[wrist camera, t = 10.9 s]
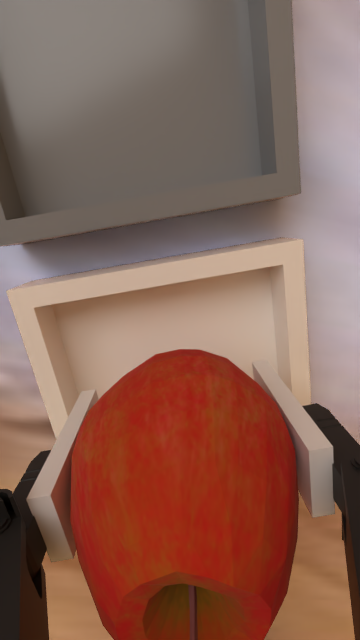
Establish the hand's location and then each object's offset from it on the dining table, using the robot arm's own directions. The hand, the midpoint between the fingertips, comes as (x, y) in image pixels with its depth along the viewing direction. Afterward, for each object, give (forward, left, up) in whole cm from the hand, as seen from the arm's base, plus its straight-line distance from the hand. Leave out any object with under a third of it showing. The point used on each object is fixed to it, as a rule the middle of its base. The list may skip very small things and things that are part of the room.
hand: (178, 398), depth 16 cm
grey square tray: (0, +16, -3) cm, 16 cm away
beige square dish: (0, 0, -3) cm, 3 cm away
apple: (0, 0, 0) cm, 0 cm away
